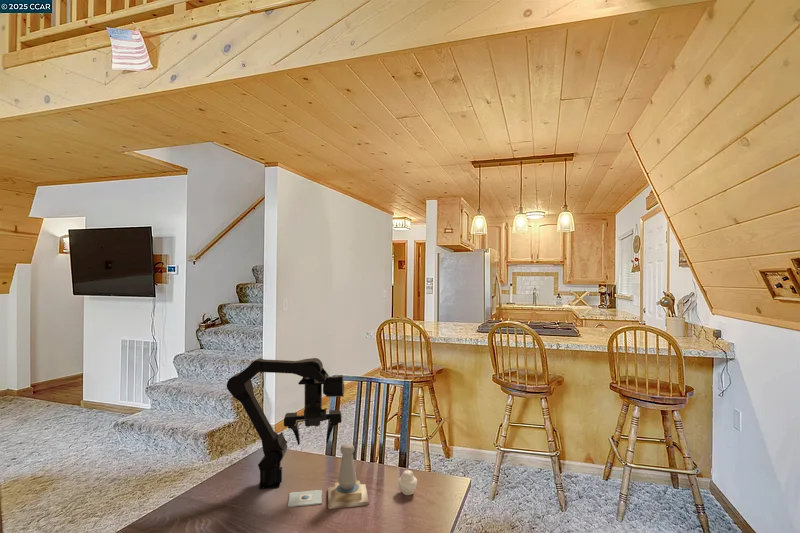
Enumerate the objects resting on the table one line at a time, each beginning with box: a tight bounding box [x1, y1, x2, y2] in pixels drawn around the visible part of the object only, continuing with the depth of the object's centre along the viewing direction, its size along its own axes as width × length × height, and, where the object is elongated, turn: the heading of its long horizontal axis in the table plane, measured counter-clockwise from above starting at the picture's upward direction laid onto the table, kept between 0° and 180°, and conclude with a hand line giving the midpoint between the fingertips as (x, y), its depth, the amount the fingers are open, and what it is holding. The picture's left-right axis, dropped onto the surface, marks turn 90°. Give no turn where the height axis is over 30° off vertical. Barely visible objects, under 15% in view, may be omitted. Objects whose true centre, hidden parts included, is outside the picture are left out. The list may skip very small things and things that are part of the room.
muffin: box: [397, 469, 418, 496], centre depth 134 cm, size 6×6×7 cm
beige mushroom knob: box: [337, 443, 358, 490], centre depth 132 cm, size 6×6×13 cm
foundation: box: [327, 480, 370, 510], centre depth 131 cm, size 12×11×3 cm
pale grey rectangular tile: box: [287, 489, 323, 508], centre depth 130 cm, size 10×8×1 cm
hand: (313, 443), depth 141 cm, fingers open, 9 cm apart
